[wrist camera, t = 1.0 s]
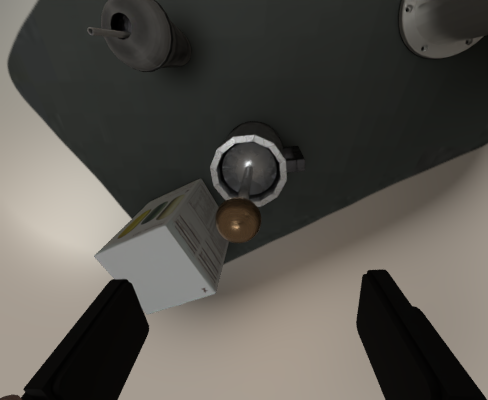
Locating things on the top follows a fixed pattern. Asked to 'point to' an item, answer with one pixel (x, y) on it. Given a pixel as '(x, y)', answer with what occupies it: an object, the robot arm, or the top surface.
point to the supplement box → (169, 249)
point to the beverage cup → (142, 35)
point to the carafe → (268, 139)
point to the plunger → (244, 190)
